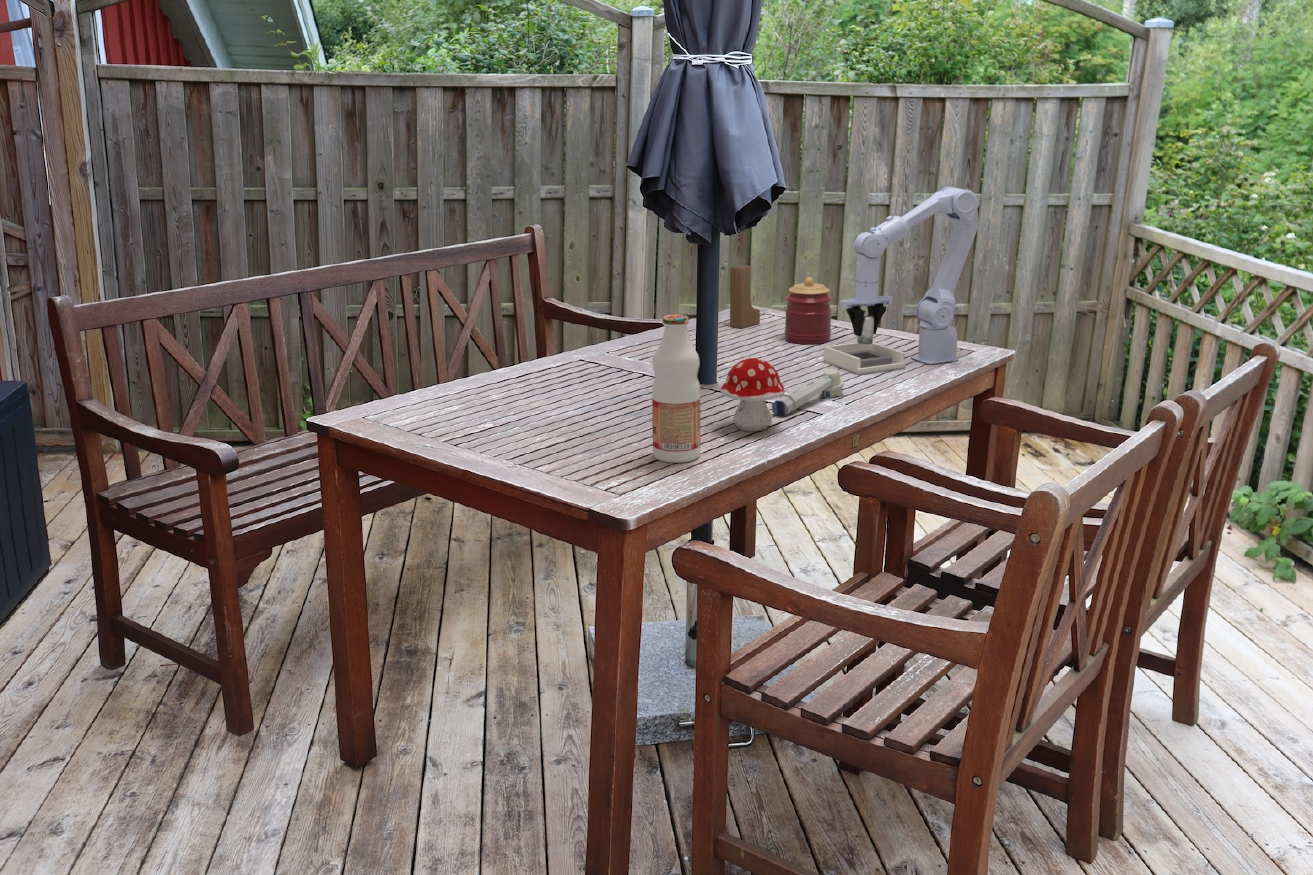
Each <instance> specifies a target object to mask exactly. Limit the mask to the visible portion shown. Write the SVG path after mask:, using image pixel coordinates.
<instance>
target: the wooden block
mask: <svg viewBox="0 0 1313 875" xmlns="http://www.w3.org/2000/svg"><path fill="white" fill-rule="evenodd" d="M729 269H730V270H729V273H730V274H729V276H730V277H729V278H730V279H729V326H730V327H731V328H735V329H746V328H749V327H753V326H758V325H759V324H760V323H761V322H760V320H761V319H760V318H761V317H760V316H761V309H759V308H754V307H753V306H752V300H751V298H752V296H751V294H752V293H751V292H752V290H751V288H752V286H751V284H752V283H751V282H752V277H751V276H752V266H750V265H744V264H738V265H737V264H736V265H731V266H730V268H729Z"/></svg>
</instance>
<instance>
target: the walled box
mask: <svg viewBox="0 0 1313 875" xmlns="http://www.w3.org/2000/svg"><path fill="white" fill-rule="evenodd" d="M904 361H905V352H903V351H900V350H898V349H895V348H891V347H889V346H885V345H881V344H880V343H879V344H878V343H876V342H873V343H872V344H860V343H857V342H849V343H844V344H843V343H842V344H834V345H827V346H823V363H826V364H828V365H831V366H834V367H836V368H839V369H842V370H845V371H847V372H850V373H851V374H855V375H857V376H863V375H871V374H878V373H885V372H891V371H899V370H905V369H906V362H904Z"/></svg>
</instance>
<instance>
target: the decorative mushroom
mask: <svg viewBox="0 0 1313 875" xmlns="http://www.w3.org/2000/svg"><path fill="white" fill-rule="evenodd" d="M719 390H720V393H721V394H722V395H723V396H724V397H727V398H730V399H733V400H737V401H739V404H738V406H737V409H736V410H735V412H734V415H733V422H734V424H735V425H736V427H737V428H738V429H739V430H742V431H747V432H761V431H764V430H766V429H767V428H768V427H769V426H770V425H771V423H772V415H771V412H770V410H769V408H768V406H767V403H766V401H770V400H775V399H779V398H780V397H781V396H782V395H783V394H786V391H787V389H786V387H785V386H784V385H783V383H782V382H781V379H780V376H779V372H778V370H776V369H775V367H774V366H773V365H772V364H770V363H769V362H768V361H766V360H764V359H761V358H759V357H758V358H757V357H749V358H744V359H742V360H740V361H738V362H737V363H735V365H733V366H732V368H731V369H730V370H729V371H728V373H727V376H726V380H725V381H724V383H723V384H722V385H721V387H720V388H719Z"/></svg>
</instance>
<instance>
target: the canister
mask: <svg viewBox="0 0 1313 875" xmlns="http://www.w3.org/2000/svg"><path fill="white" fill-rule="evenodd" d="M788 292H789V294H788V295H787V296H785V298H784V299H785V301H786V308H785V309H784V311H785V324H784V325H785V326H784V327H785V328H784V329H785V330H784V337H785V340H786V342H790V343H795V344H800V345H801V344H802V345H818V344H825V343H827V342H829V341H830V340H831V336H832V329H831V328H832V312H833V310H832V308H831V302H833V297H832V296H831V295H829V292H830V289H829V288H828V287H826V286H825V284H822V283H815V280H814V278H813V277H812V276H811V277H810V276H808V277H806V278H805V279H804V282H803V283H802V282H801V283H795V284H793V286H792V287H790V288H789V289H788Z"/></svg>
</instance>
